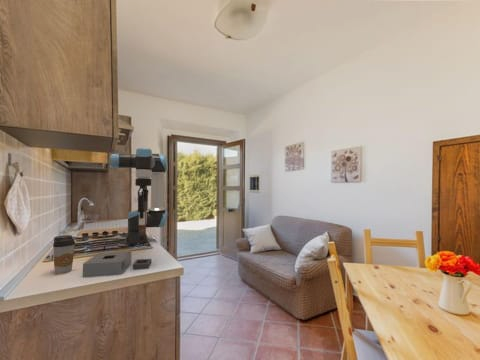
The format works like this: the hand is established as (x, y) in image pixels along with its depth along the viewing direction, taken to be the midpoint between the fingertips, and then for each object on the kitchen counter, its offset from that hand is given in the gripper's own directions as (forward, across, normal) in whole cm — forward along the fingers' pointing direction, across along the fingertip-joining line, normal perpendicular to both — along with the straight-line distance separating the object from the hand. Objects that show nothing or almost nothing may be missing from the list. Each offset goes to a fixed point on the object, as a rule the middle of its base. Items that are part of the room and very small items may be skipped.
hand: (142, 224), depth 112 cm
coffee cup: (+22, 0, -35) cm, 41 cm away
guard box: (+21, +1, -15) cm, 26 cm away
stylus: (+6, 0, 0) cm, 6 cm away
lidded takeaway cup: (+22, -23, -47) cm, 57 cm away
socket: (+21, 0, 0) cm, 21 cm away
